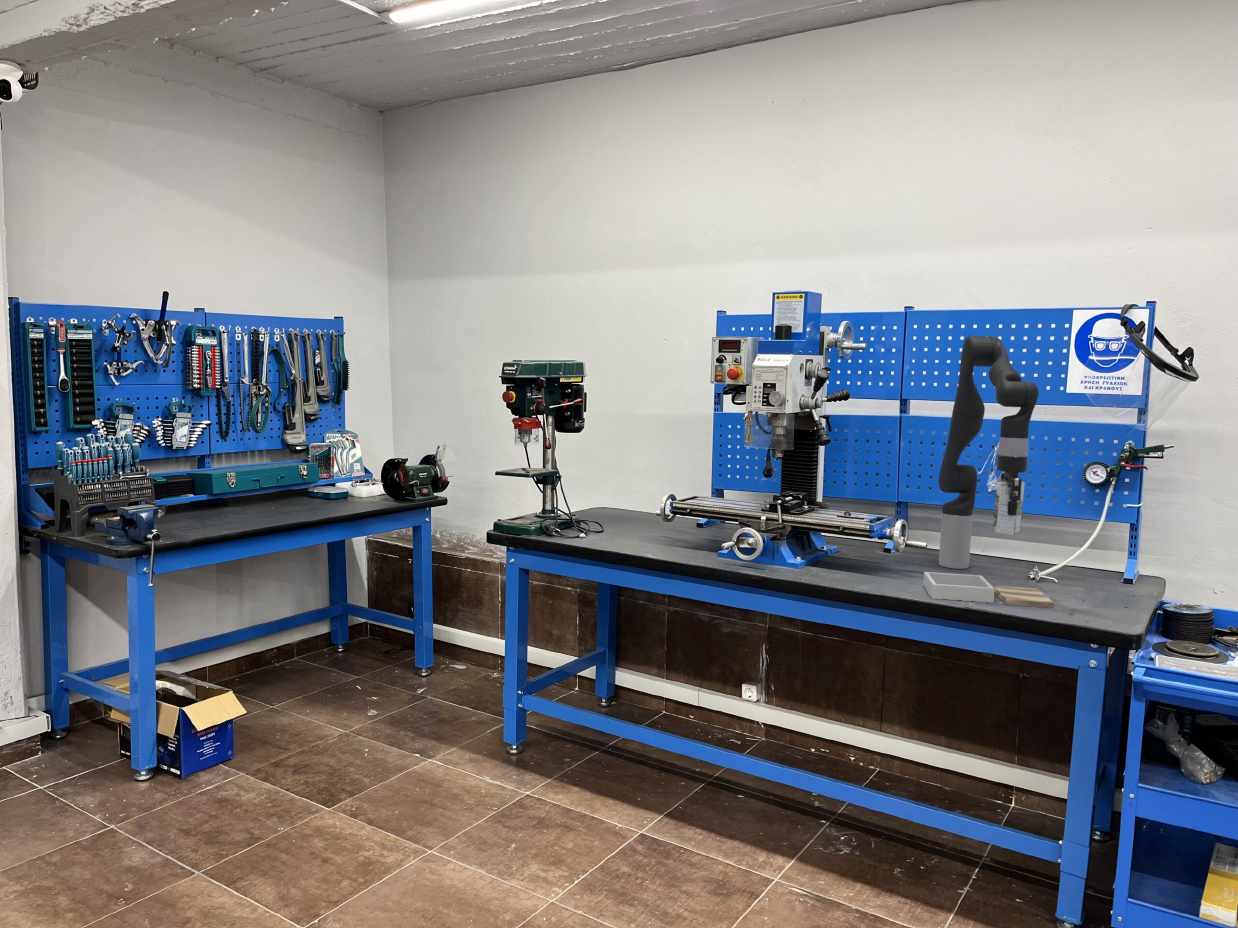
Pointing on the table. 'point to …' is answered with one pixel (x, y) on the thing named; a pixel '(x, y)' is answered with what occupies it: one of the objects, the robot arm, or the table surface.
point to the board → (1023, 596)
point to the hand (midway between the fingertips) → (1008, 512)
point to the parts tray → (958, 587)
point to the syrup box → (1001, 518)
